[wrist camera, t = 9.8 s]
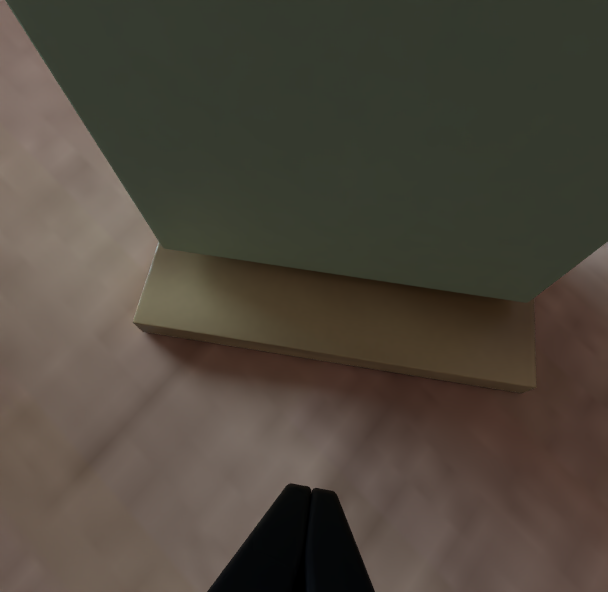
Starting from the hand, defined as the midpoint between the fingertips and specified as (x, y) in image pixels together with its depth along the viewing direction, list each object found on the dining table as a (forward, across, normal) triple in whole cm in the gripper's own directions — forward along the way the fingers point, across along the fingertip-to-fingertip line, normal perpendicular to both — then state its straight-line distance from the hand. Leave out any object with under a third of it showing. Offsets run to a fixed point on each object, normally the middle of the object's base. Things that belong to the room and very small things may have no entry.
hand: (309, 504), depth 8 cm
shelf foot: (+10, 0, -1) cm, 10 cm away
